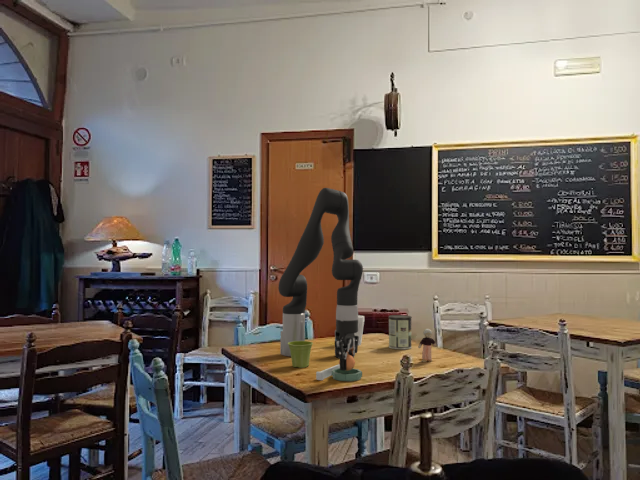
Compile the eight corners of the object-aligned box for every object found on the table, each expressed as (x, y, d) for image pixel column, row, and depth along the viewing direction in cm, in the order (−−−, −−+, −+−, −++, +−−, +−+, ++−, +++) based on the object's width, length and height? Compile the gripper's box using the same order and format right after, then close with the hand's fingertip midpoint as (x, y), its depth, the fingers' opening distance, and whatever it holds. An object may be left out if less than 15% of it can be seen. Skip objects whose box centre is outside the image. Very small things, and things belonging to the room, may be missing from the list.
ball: (336, 371, 170) (336, 354, 170) (343, 368, 175) (343, 352, 175) (350, 373, 168) (350, 356, 168) (357, 369, 172) (357, 354, 172)
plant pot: (292, 370, 182) (293, 345, 183) (284, 364, 191) (284, 341, 191) (316, 367, 186) (316, 344, 186) (307, 362, 195) (307, 340, 195)
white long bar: (316, 379, 169) (316, 371, 169) (342, 368, 185) (342, 361, 185) (322, 380, 167) (322, 372, 167) (348, 369, 184) (348, 362, 184)
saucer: (327, 378, 169) (327, 372, 169) (340, 373, 178) (340, 366, 178) (353, 382, 165) (353, 375, 165) (365, 376, 173) (365, 370, 173)
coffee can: (400, 344, 235) (400, 314, 236) (416, 348, 227) (416, 316, 227) (383, 346, 230) (383, 315, 230) (399, 350, 221) (399, 318, 222)
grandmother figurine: (423, 362, 196) (423, 329, 196) (417, 361, 199) (416, 328, 200) (438, 361, 199) (438, 328, 200) (432, 359, 203) (432, 327, 203)
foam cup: (351, 342, 242) (351, 314, 242) (368, 344, 236) (368, 316, 237) (340, 344, 234) (340, 316, 234) (357, 347, 229) (357, 318, 229)
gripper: (346, 315, 180) (346, 363, 179) (327, 319, 167) (326, 371, 167) (366, 316, 176) (365, 365, 176) (347, 321, 164) (347, 374, 163)
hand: (346, 368), depth 171 cm, fingers closed on ball, 5 cm apart
